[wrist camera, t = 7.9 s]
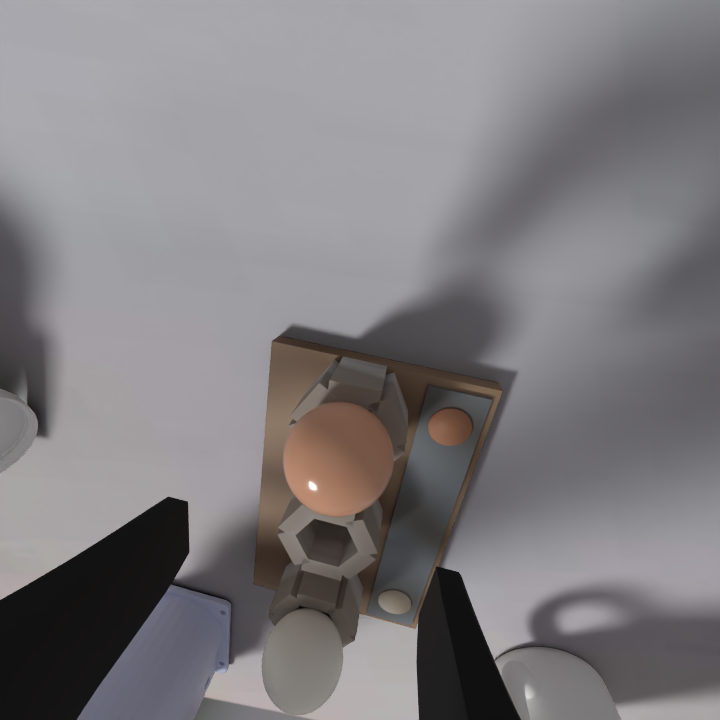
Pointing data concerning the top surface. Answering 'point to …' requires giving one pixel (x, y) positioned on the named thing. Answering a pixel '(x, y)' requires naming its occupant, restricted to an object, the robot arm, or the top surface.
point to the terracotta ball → (338, 459)
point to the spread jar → (15, 428)
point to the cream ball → (302, 661)
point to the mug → (554, 686)
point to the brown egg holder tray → (392, 509)
